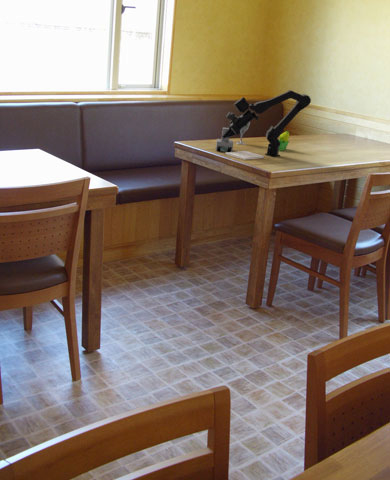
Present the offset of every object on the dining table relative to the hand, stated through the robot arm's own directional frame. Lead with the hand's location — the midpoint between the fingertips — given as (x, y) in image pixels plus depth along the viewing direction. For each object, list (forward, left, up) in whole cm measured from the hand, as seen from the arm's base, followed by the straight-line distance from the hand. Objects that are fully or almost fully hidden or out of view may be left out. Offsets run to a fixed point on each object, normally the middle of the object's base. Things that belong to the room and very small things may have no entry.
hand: (222, 136), depth 341 cm
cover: (-1, +1, -8) cm, 8 cm away
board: (-2, +16, -8) cm, 18 cm away
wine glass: (-29, -12, -8) cm, 32 cm away
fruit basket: (-41, +9, -8) cm, 43 cm away
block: (-1, +1, -8) cm, 8 cm away
